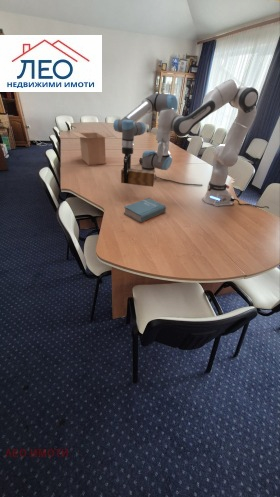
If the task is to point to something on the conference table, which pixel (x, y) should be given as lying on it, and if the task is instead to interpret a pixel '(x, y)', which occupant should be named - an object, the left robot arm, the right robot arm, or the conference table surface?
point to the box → (92, 146)
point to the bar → (139, 177)
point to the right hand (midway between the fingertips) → (159, 160)
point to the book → (144, 209)
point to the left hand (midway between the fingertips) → (126, 181)
